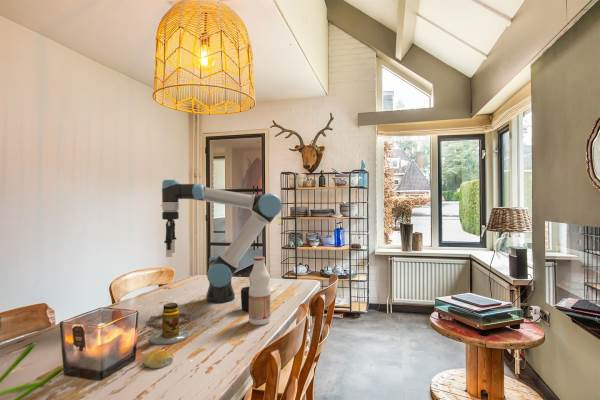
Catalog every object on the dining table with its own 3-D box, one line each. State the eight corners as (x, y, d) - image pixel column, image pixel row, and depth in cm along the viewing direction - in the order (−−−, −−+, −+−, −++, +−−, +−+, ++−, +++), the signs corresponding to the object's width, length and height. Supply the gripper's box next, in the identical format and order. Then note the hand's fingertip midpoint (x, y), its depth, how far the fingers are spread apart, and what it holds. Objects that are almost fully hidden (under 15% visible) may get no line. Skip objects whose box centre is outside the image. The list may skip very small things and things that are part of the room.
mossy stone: (160, 355, 118) (160, 343, 118) (177, 361, 114) (177, 349, 114) (137, 365, 111) (137, 352, 111) (155, 372, 107) (155, 358, 107)
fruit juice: (252, 326, 145) (252, 259, 145) (246, 320, 153) (245, 256, 153) (273, 323, 149) (273, 258, 149) (266, 317, 157) (265, 255, 158)
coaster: (189, 329, 142) (189, 327, 142) (187, 342, 129) (187, 340, 129) (153, 332, 139) (153, 330, 139) (146, 346, 125) (146, 344, 125)
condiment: (173, 340, 129) (173, 307, 129) (153, 338, 131) (153, 306, 131) (184, 332, 136) (184, 302, 136) (164, 331, 138) (164, 301, 138)
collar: (191, 313, 163) (191, 309, 163) (189, 325, 146) (189, 321, 146) (152, 316, 159) (152, 312, 159) (145, 329, 142) (145, 325, 142)
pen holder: (264, 308, 171) (264, 287, 171) (252, 313, 163) (252, 292, 163) (248, 305, 175) (248, 285, 175) (236, 310, 167) (236, 289, 167)
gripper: (165, 210, 181) (165, 251, 181) (158, 211, 157) (158, 259, 156) (180, 210, 183) (180, 251, 183) (176, 211, 159) (176, 258, 158)
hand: (170, 254), depth 170 cm, fingers open, 13 cm apart
